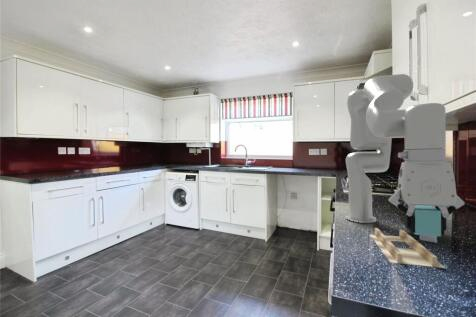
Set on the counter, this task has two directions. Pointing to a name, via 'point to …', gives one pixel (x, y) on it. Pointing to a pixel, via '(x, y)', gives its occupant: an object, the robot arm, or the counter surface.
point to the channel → (405, 250)
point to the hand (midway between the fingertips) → (424, 231)
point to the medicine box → (428, 238)
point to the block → (427, 220)
